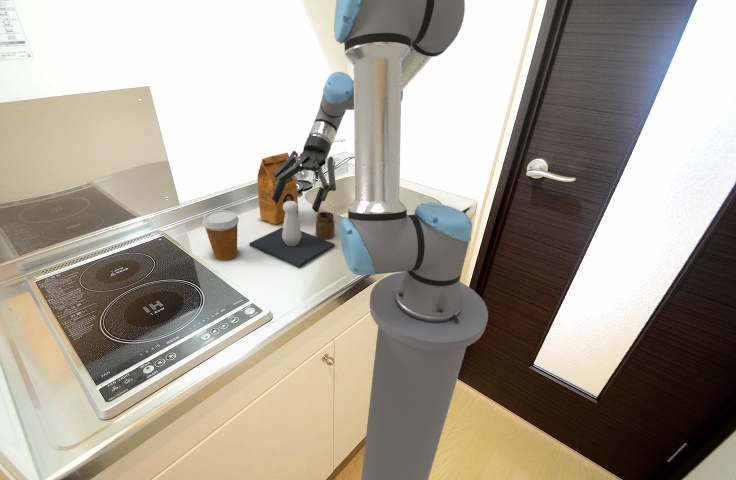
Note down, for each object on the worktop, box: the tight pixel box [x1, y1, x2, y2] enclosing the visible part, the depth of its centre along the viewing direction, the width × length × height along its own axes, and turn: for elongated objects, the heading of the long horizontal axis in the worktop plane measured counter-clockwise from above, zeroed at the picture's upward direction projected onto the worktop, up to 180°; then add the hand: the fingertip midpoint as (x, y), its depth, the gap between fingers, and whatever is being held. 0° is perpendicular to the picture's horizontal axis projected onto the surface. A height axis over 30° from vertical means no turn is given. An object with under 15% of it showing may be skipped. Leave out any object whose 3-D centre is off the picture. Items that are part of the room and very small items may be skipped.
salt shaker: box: [282, 201, 302, 246], centre depth 107 cm, size 6×6×13 cm
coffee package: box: [256, 152, 299, 225], centre depth 121 cm, size 10×12×22 cm
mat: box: [249, 226, 336, 269], centre depth 110 cm, size 20×16×1 cm
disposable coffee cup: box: [201, 209, 240, 261], centre depth 102 cm, size 10×10×12 cm
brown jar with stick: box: [315, 201, 336, 240], centre depth 114 cm, size 6×6×12 cm
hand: (294, 205), depth 105 cm, fingers open, 13 cm apart
